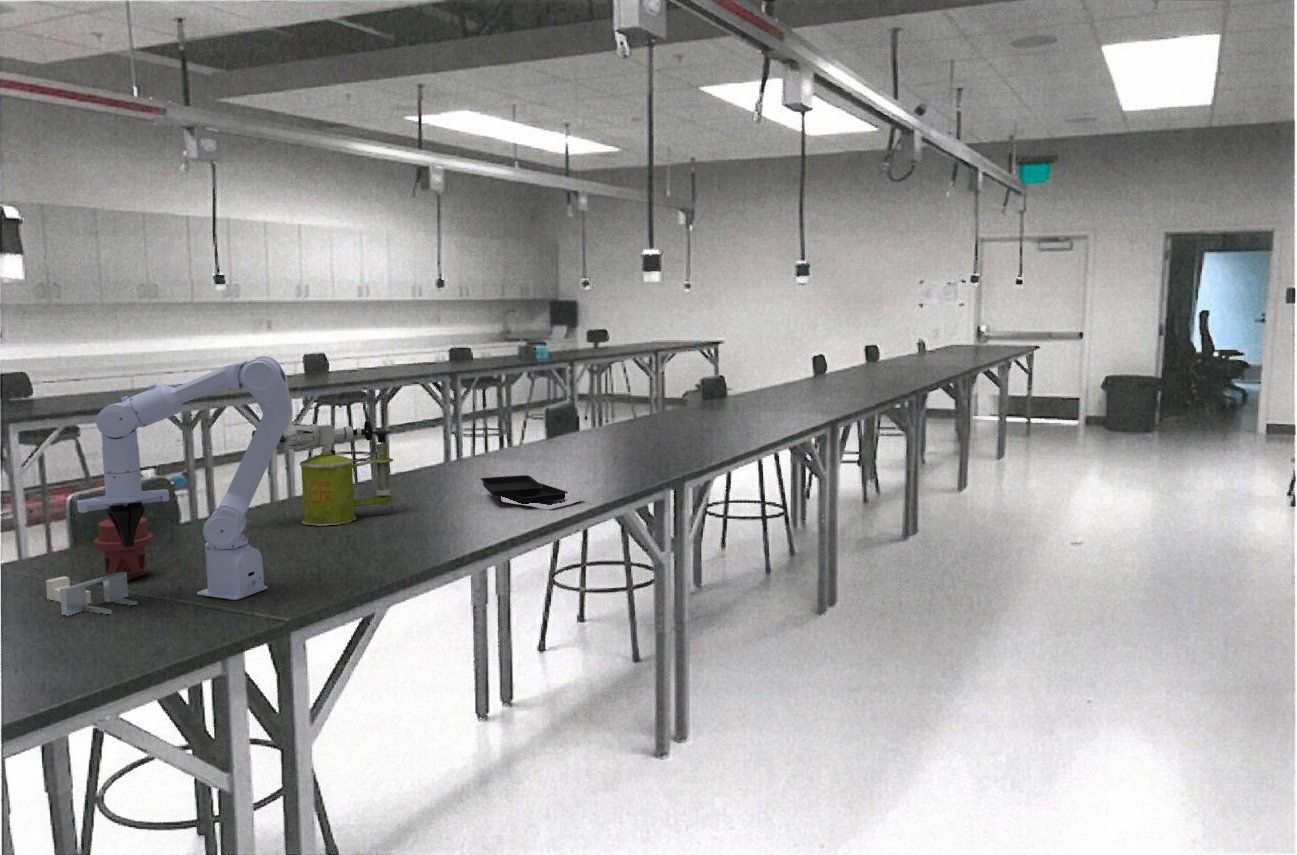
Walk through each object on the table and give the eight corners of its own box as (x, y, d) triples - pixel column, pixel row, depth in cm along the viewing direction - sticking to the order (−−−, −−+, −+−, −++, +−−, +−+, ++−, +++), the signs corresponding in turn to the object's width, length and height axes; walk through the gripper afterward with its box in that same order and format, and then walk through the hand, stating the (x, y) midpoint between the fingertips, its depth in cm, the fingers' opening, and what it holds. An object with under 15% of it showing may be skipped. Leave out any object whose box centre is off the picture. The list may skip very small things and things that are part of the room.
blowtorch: (403, 518, 244) (399, 417, 241) (264, 534, 227) (258, 427, 223) (387, 508, 255) (383, 413, 252) (253, 524, 238) (247, 421, 234)
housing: (152, 600, 177) (150, 575, 176) (92, 620, 166) (90, 593, 165) (122, 596, 179) (120, 571, 179) (61, 615, 168) (59, 589, 168)
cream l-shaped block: (92, 603, 175) (90, 583, 175) (74, 607, 173) (72, 587, 172) (62, 594, 181) (60, 575, 180) (43, 598, 178) (42, 579, 178)
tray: (593, 499, 266) (593, 480, 266) (548, 516, 246) (547, 495, 245) (501, 490, 280) (501, 472, 279) (451, 506, 259) (450, 486, 258)
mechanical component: (88, 579, 190) (141, 568, 198) (110, 588, 184) (164, 577, 192) (83, 516, 189) (137, 508, 197) (105, 524, 183) (160, 515, 190)
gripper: (84, 479, 166) (90, 557, 168) (173, 468, 177) (178, 542, 178) (71, 474, 171) (77, 550, 173) (158, 464, 181) (163, 536, 183)
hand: (127, 545), depth 176 cm, fingers closed
